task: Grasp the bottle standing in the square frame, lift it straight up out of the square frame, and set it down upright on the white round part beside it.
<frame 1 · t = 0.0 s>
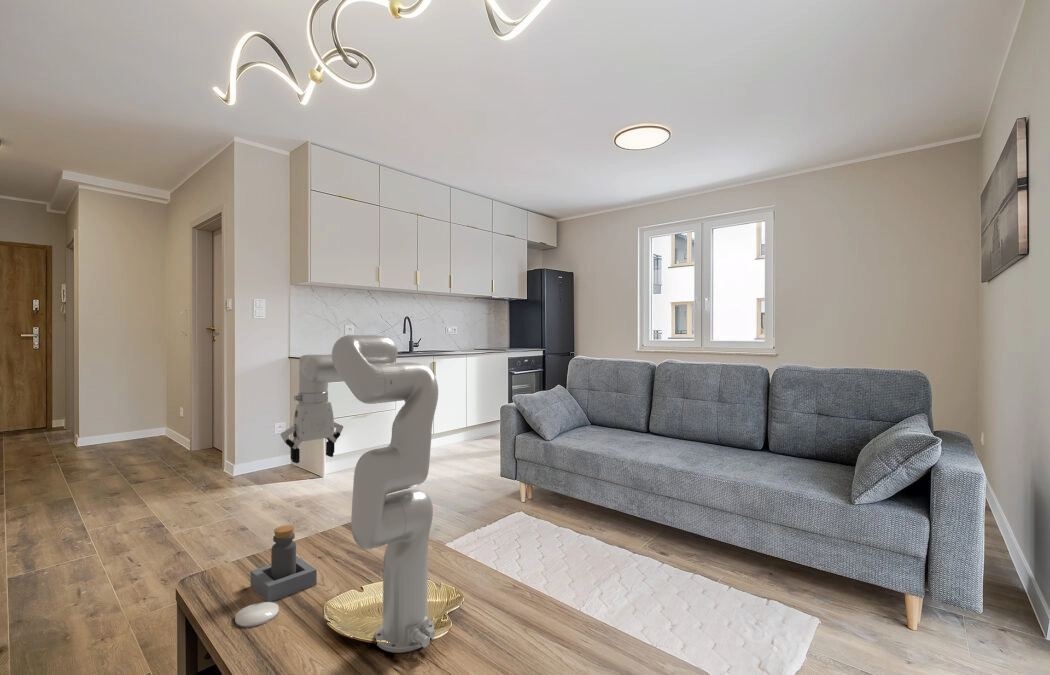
hand: (313, 459, 138), 31 cm above the table, tool pointing down, fingers open, 9 cm apart
white round part: (257, 615, 115), on the table
square frame: (283, 585, 130), on the table
bottle: (283, 586, 130), resting in square frame
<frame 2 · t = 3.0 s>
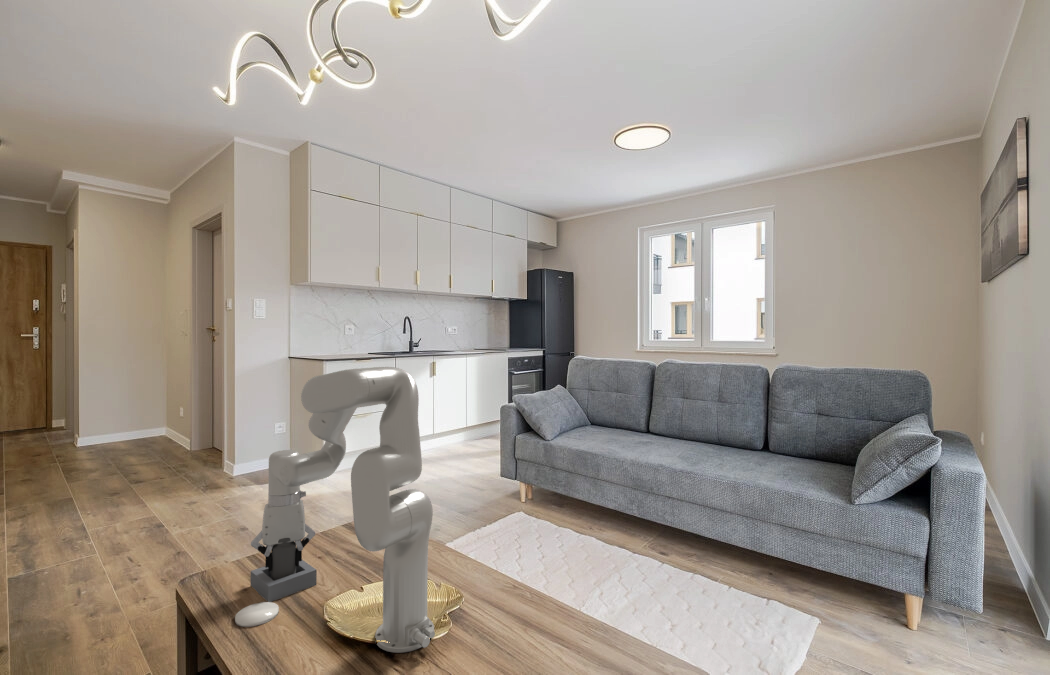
hand: (283, 566, 130), 5 cm above the table, tool pointing down, fingers closed on bottle, 5 cm apart
bottle: (283, 586, 130), resting in square frame, touching gripper
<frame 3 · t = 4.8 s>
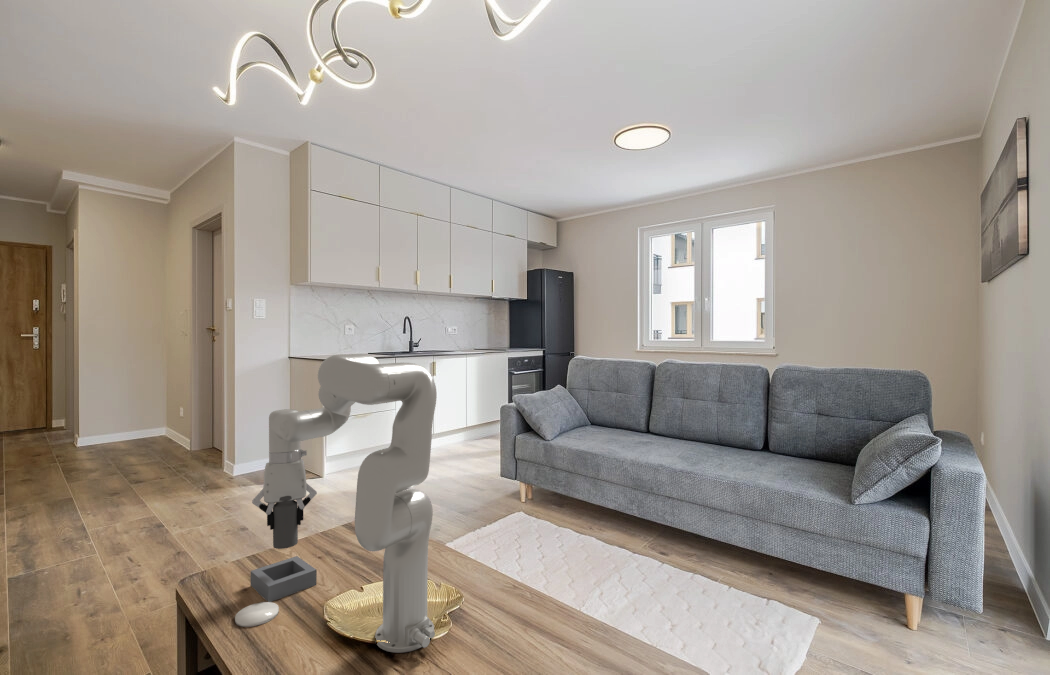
hand: (285, 525, 129), 16 cm above the table, tool pointing down, fingers closed on bottle, 5 cm apart
bottle: (285, 545, 129), point 11 cm above the table, touching gripper
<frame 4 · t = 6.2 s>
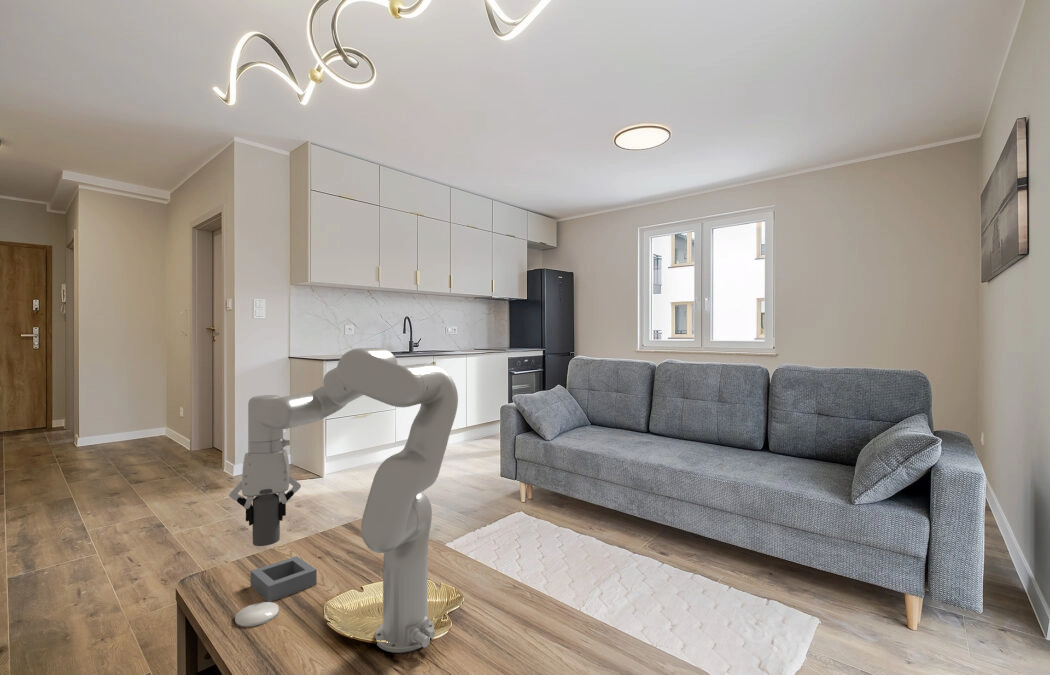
hand: (266, 520, 119), 21 cm above the table, tool pointing down, fingers closed on bottle, 5 cm apart
bottle: (266, 542, 119), point 16 cm above the table, touching gripper
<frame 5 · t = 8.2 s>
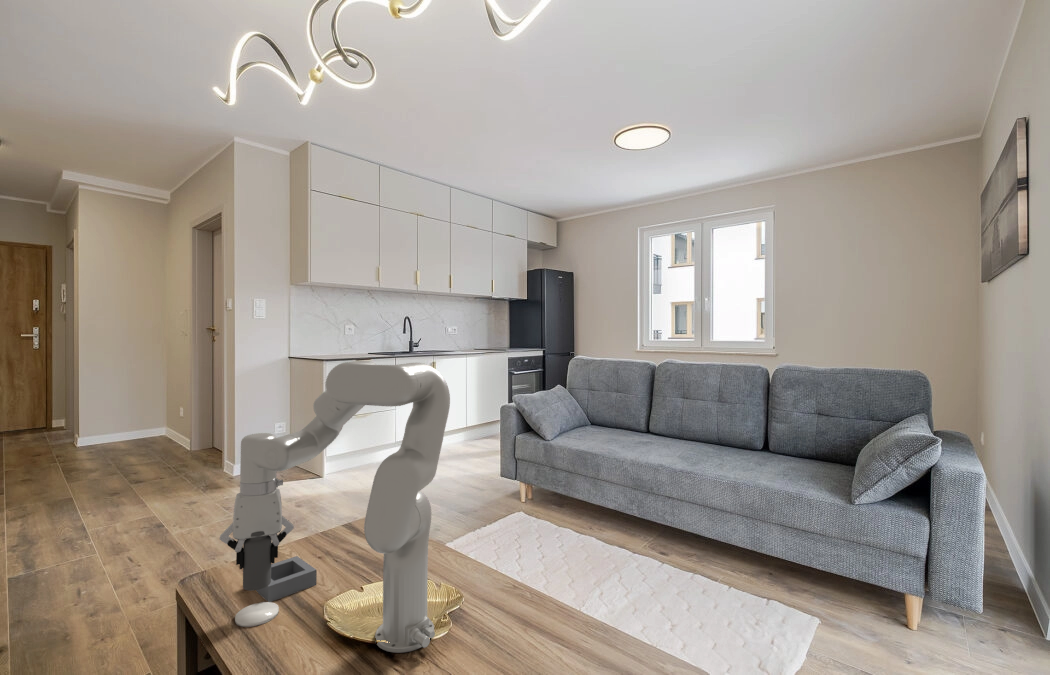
hand: (257, 563, 115), 12 cm above the table, tool pointing down, fingers closed on bottle, 5 cm apart
bottle: (257, 585, 115), point 7 cm above the table, touching gripper
when the fingers open (7 cm above the table, at t = 9.7 s): bottle drops 1 cm, resting on white round part.
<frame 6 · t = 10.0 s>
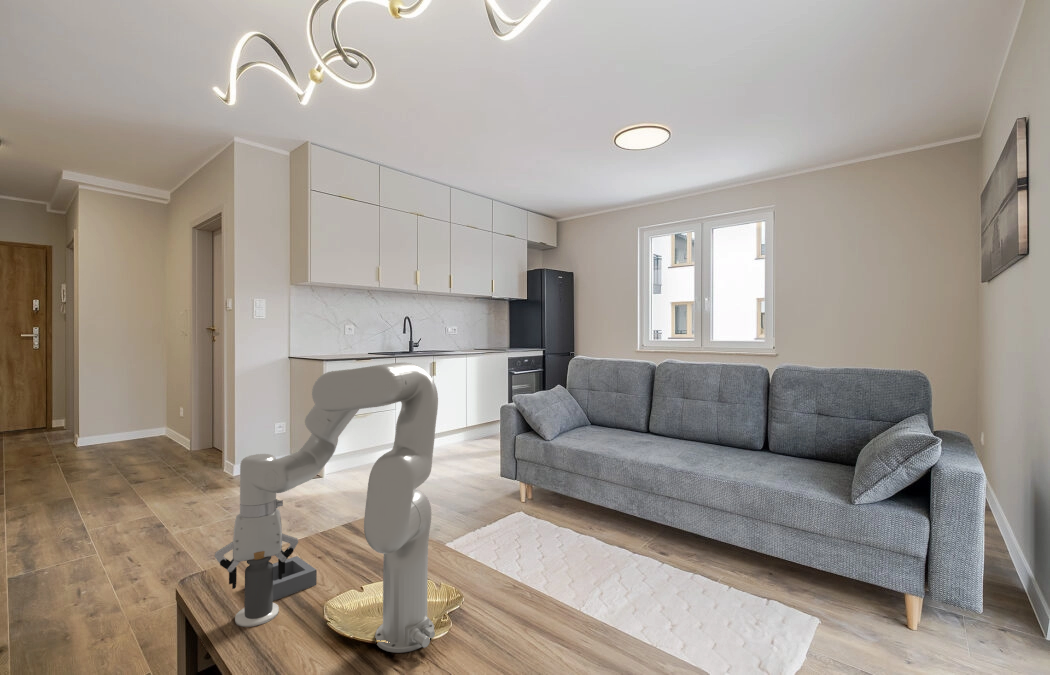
hand: (257, 581, 115), 8 cm above the table, tool pointing down, fingers open, 9 cm apart
bottle: (258, 613, 115), point 1 cm above the table, touching white round part
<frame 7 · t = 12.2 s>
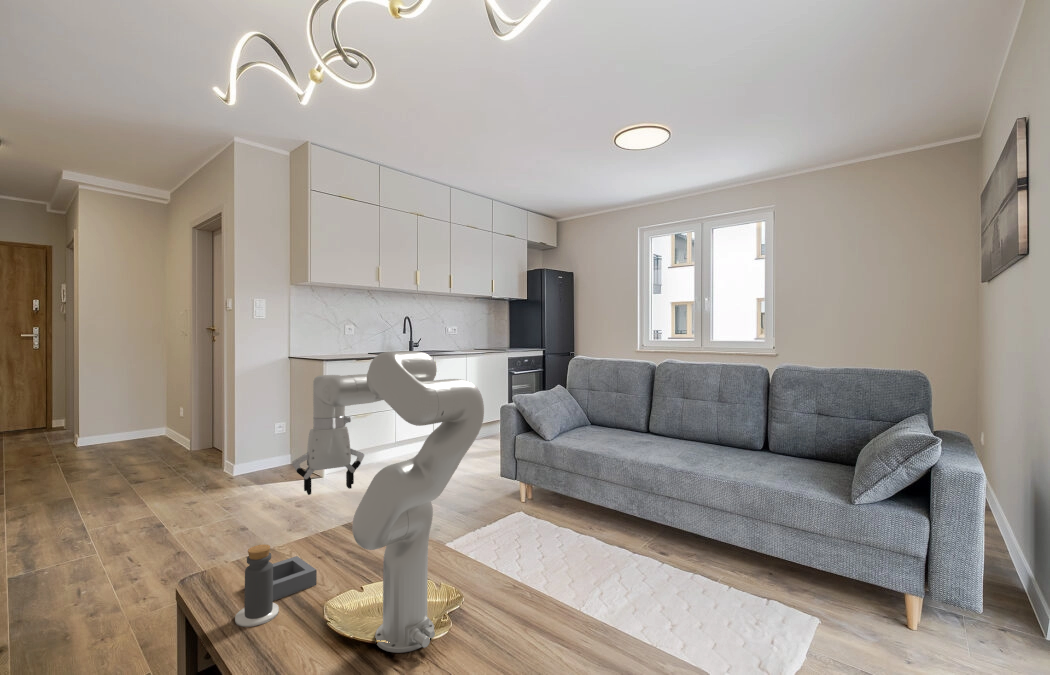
hand: (329, 490, 126), 26 cm above the table, tool pointing down, fingers open, 9 cm apart
nothing on the table moved.
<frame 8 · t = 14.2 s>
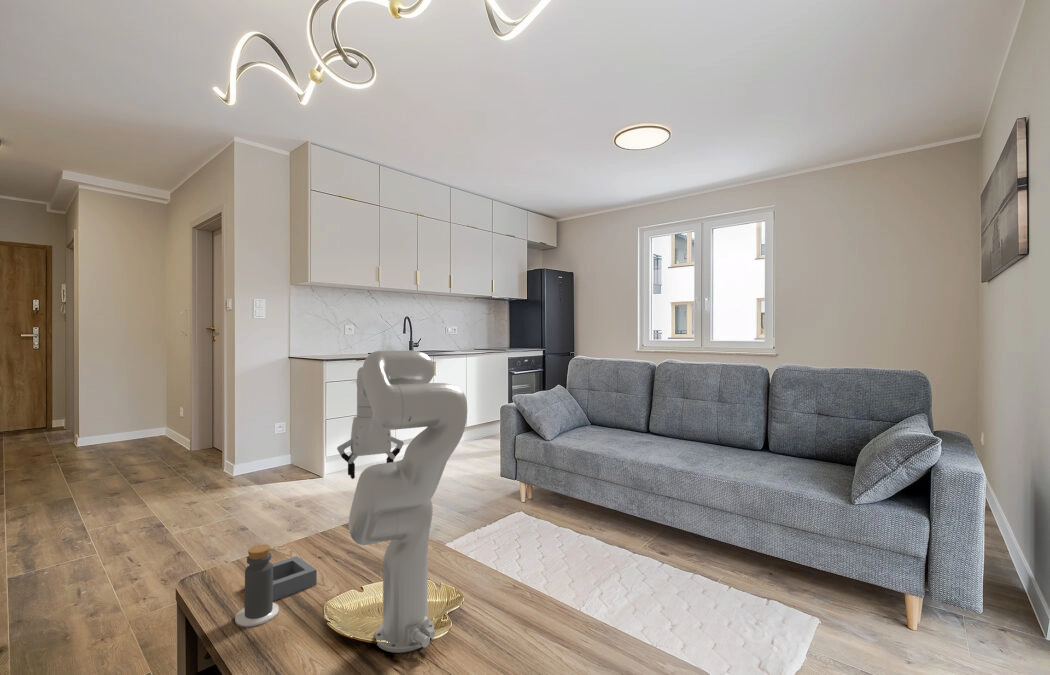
hand: (370, 475, 133), 28 cm above the table, tool pointing down, fingers open, 9 cm apart
nothing on the table moved.
at the end: bottle 0.3 cm off-centre on the white round part, point 0.6 cm above the white round part's base; bottle tilted 0°; the gripper is holding nothing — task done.
